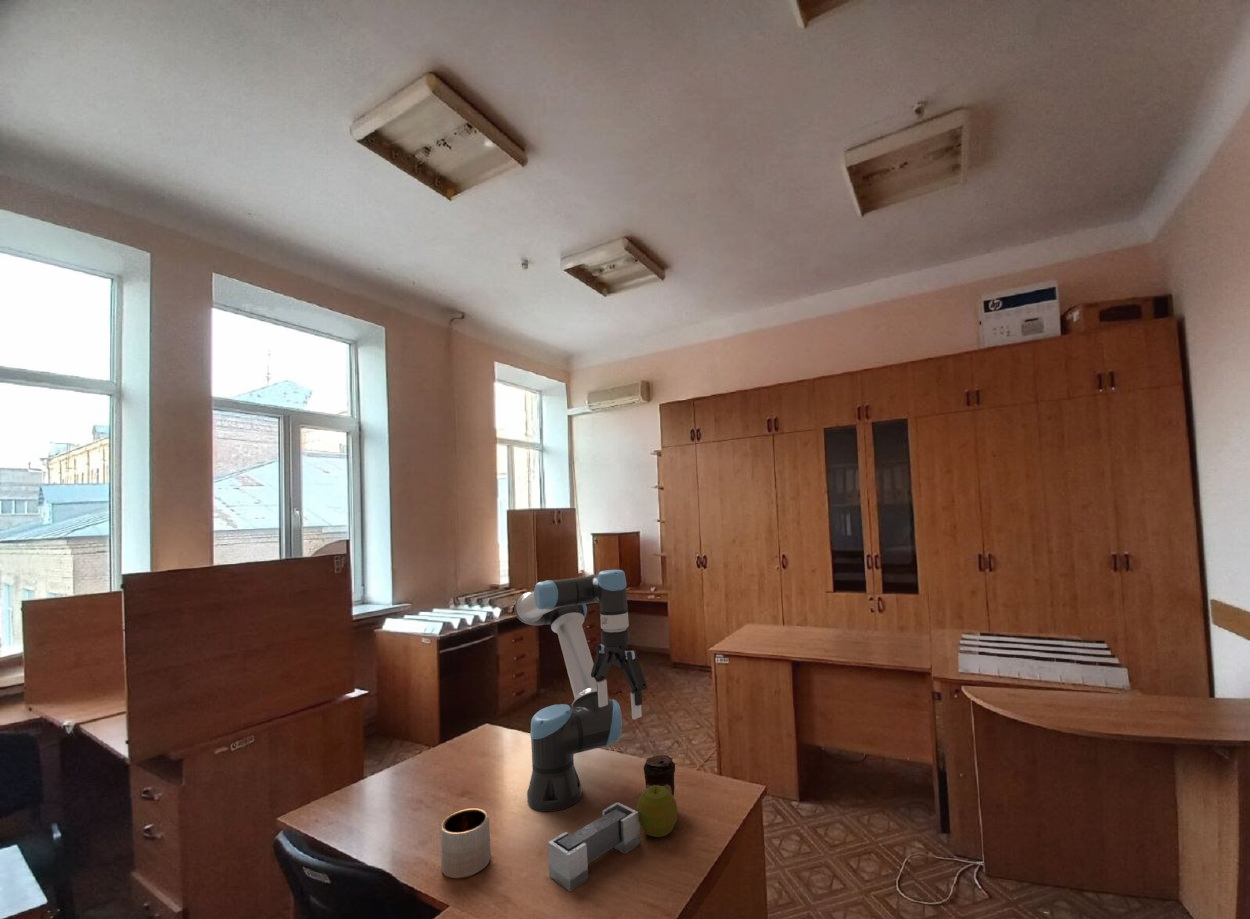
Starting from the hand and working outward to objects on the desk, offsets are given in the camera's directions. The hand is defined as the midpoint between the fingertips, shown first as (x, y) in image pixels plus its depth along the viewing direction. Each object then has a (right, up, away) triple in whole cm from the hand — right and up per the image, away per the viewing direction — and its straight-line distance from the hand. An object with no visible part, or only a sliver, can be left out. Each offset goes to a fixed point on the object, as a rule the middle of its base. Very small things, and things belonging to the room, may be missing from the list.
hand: (619, 711), depth 139 cm
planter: (-35, -27, -18) cm, 48 cm away
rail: (-5, -22, -20) cm, 30 cm away
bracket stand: (-5, -24, -19) cm, 31 cm away
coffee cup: (+11, -25, -2) cm, 28 cm away
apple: (+10, -25, -11) cm, 28 cm away
